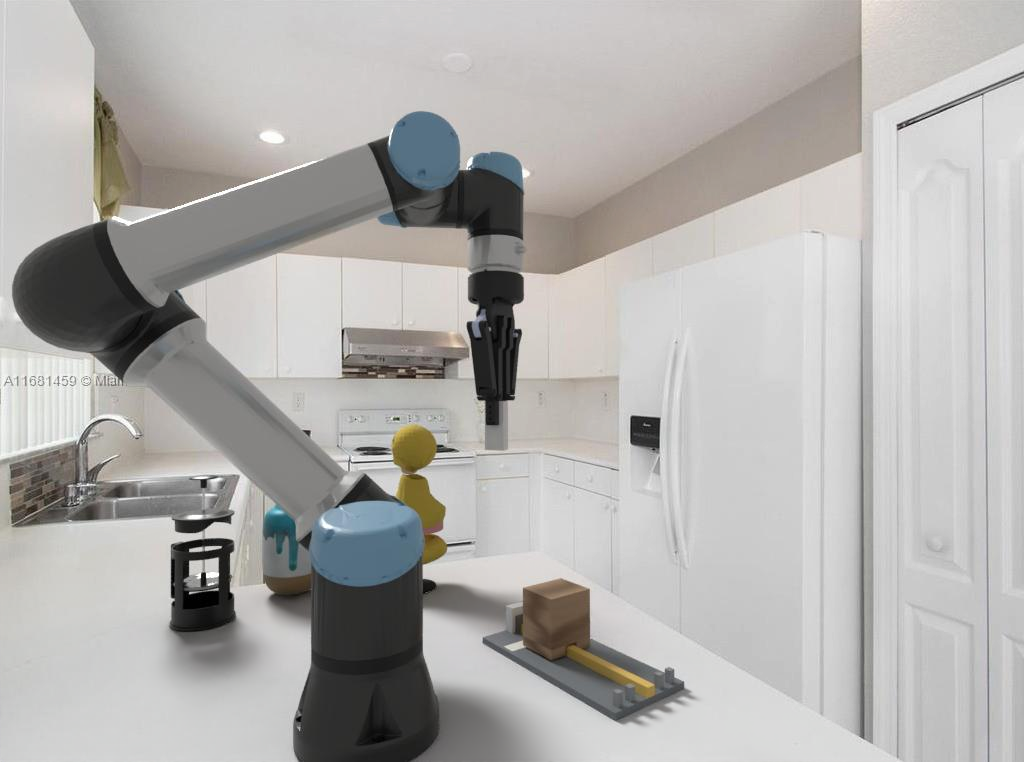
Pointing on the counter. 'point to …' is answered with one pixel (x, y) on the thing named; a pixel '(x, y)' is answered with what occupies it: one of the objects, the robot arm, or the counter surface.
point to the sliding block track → (589, 671)
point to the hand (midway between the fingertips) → (496, 449)
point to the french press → (206, 605)
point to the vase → (284, 555)
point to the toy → (420, 488)
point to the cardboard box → (556, 617)
